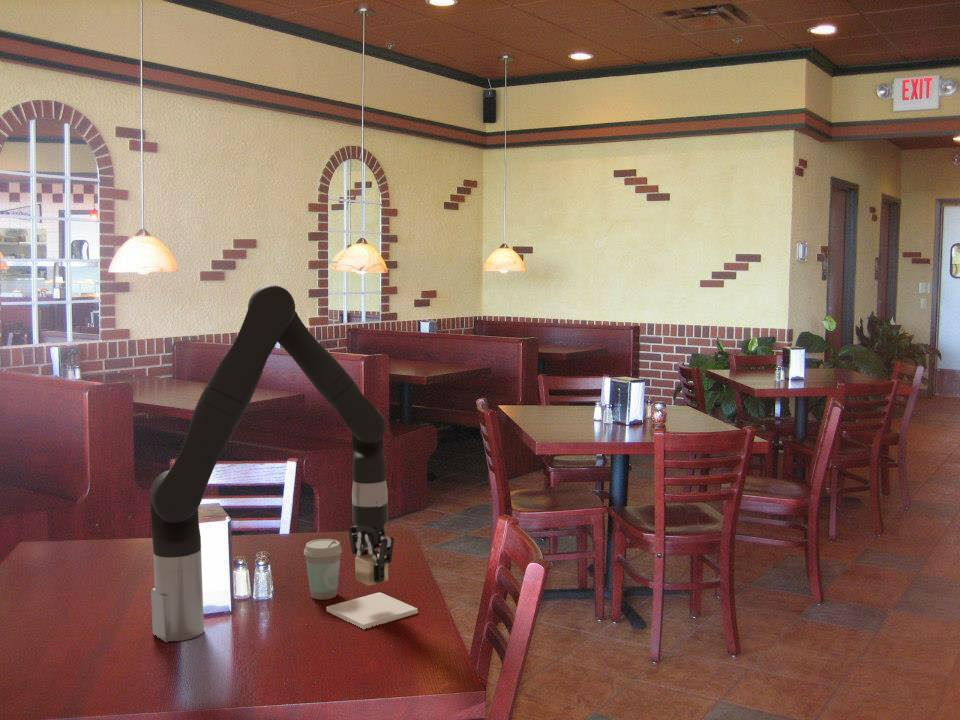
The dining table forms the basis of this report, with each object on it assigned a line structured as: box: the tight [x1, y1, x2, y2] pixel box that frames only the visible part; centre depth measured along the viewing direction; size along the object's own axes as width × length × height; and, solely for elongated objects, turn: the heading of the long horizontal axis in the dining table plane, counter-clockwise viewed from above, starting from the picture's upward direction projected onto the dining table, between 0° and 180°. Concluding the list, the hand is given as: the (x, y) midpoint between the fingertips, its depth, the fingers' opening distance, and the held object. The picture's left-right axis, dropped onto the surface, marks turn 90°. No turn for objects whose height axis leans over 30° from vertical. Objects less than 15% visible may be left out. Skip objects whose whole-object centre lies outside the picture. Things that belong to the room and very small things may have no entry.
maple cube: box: [354, 553, 389, 586], centre depth 211 cm, size 5×5×5 cm
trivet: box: [325, 592, 418, 630], centre depth 212 cm, size 14×14×1 cm
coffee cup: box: [303, 538, 343, 601], centre depth 222 cm, size 9×9×12 cm
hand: (371, 578), depth 211 cm, fingers closed on maple cube, 5 cm apart
